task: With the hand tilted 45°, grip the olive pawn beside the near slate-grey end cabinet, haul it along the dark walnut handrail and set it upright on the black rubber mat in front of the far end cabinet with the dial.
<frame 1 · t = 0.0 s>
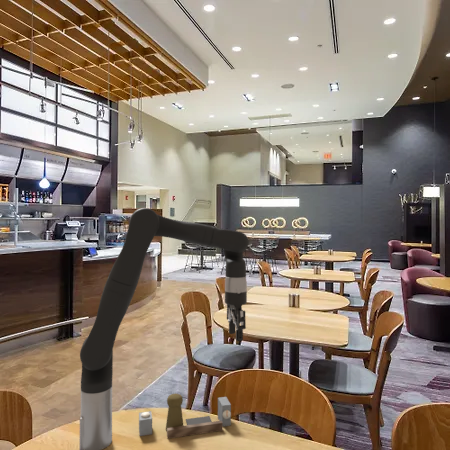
hand: (235, 337, 126), 29 cm above the table, tool pointing down, fingers open, 8 cm apart
handrail: (195, 433, 120), on the table
far end cabinet: (224, 421, 127), on the table
near end cabinet: (145, 430, 121), on the table
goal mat: (199, 424, 125), on the table
olive pawn: (174, 429, 122), on the table
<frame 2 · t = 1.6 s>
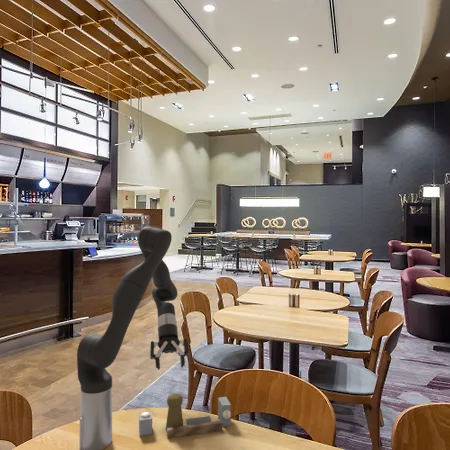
hand: (170, 367, 135), 16 cm above the table, tool tilted 45°, fingers open, 8 cm apart
nothing on the table moved.
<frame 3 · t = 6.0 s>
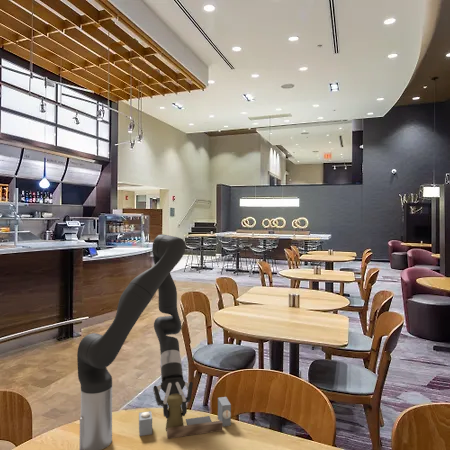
hand: (175, 416, 121), 5 cm above the table, tool tilted 45°, fingers closed on olive pawn, 5 cm apart
olive pawn: (174, 429, 122), on the table, touching gripper
when the fingers open (6 cm above the table, at t = 11.5 s): olive pawn stays where it is, resting on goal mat.
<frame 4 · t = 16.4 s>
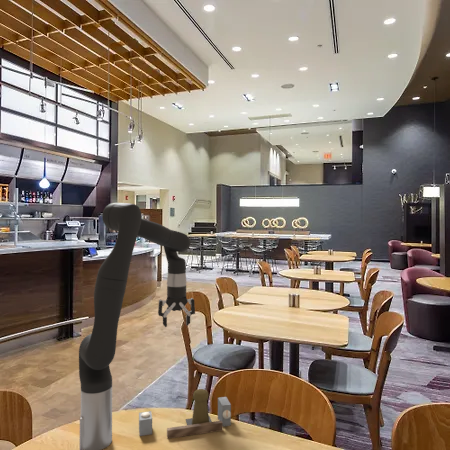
hand: (176, 325, 145), 28 cm above the table, tool pointing down, fingers open, 8 cm apart
olive pawn: (200, 423, 125), resting on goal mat
at the end: olive pawn 0.4 cm from the target spot, resting on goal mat; olive pawn tilted 0°; the gripper is holding nothing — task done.
